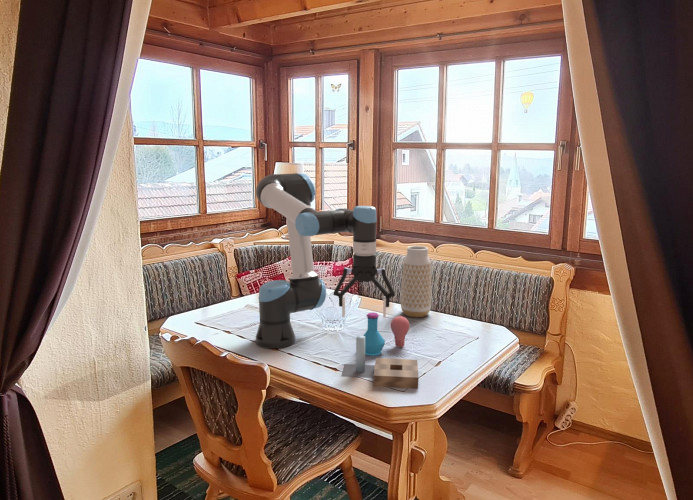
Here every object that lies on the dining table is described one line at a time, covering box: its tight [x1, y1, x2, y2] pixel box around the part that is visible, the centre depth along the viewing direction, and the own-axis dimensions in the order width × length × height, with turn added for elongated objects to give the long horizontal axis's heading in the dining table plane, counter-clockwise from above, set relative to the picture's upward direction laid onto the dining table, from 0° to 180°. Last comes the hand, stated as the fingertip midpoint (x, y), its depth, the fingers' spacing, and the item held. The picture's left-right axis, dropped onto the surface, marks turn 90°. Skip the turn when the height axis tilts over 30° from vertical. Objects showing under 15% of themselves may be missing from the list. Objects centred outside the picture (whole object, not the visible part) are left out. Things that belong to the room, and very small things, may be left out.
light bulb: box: [390, 315, 411, 348], centre depth 200 cm, size 7×7×12 cm
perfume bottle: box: [362, 312, 386, 356], centre depth 194 cm, size 9×9×15 cm
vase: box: [400, 245, 432, 318], centre depth 236 cm, size 14×14×31 cm
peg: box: [355, 335, 366, 373], centre depth 178 cm, size 3×3×12 cm
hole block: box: [373, 357, 419, 389], centre depth 174 cm, size 14×14×4 cm
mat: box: [340, 363, 375, 379], centre depth 179 cm, size 12×10×1 cm
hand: (364, 316), depth 177 cm, fingers open, 13 cm apart
